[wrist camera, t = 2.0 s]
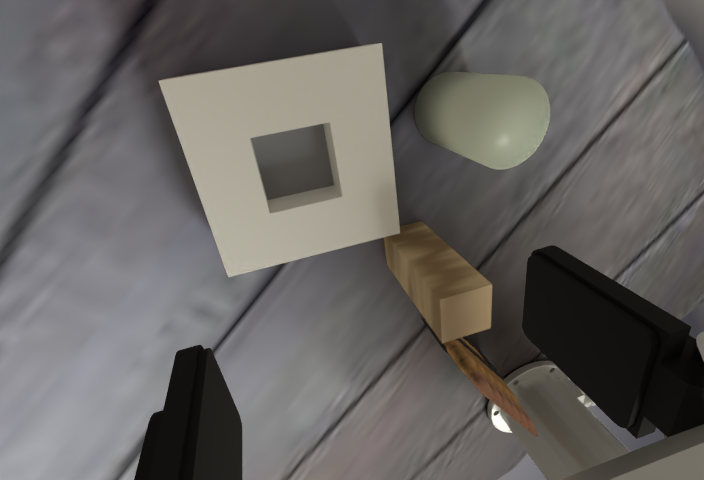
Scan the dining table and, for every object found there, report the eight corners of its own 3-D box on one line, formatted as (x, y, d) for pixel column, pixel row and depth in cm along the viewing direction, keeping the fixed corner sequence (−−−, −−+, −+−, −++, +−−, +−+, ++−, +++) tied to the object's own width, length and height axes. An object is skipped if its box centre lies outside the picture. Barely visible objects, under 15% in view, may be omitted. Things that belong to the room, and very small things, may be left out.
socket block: (360, 45, 29) (381, 43, 25) (380, 211, 35) (400, 233, 31) (171, 77, 27) (158, 80, 22) (230, 248, 33) (228, 277, 29)
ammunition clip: (480, 350, 47) (548, 433, 37) (469, 360, 48) (533, 445, 37) (433, 307, 42) (496, 389, 32) (421, 318, 43) (480, 403, 32)
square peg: (421, 220, 37) (492, 284, 27) (423, 255, 39) (490, 328, 28) (382, 230, 36) (440, 299, 26) (387, 265, 38) (442, 343, 28)
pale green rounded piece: (477, 65, 32) (554, 68, 24) (477, 136, 35) (546, 159, 27) (411, 78, 31) (469, 85, 23) (416, 150, 34) (469, 177, 26)
